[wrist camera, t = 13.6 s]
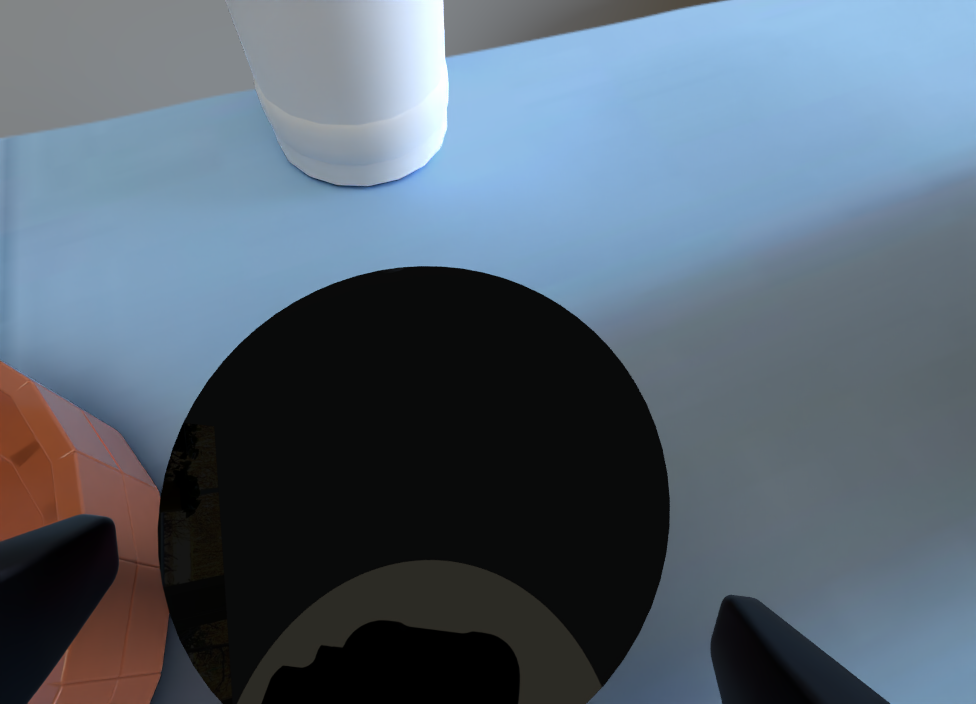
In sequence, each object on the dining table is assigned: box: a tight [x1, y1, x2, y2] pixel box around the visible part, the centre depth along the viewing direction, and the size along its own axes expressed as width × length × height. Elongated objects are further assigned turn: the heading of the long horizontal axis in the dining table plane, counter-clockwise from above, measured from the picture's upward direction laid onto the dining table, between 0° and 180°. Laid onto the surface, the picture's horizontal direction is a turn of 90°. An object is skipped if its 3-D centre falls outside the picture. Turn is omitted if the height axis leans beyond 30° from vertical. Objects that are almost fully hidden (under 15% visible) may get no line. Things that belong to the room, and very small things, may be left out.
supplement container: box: [158, 266, 670, 704], centre depth 12 cm, size 7×7×10 cm
